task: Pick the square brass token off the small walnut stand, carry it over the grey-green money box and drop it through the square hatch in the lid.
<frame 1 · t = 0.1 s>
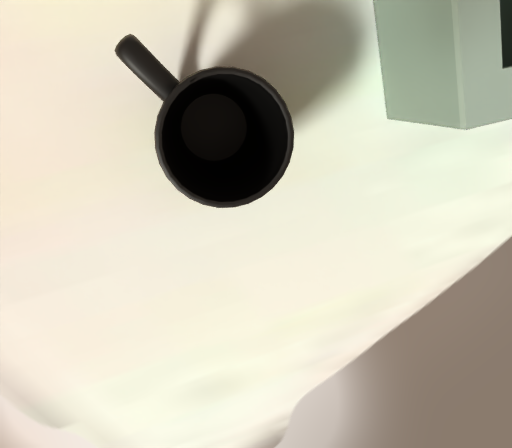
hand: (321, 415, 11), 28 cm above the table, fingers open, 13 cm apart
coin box: (448, 12, 37), on the table
mug: (196, 109, 36), on the table
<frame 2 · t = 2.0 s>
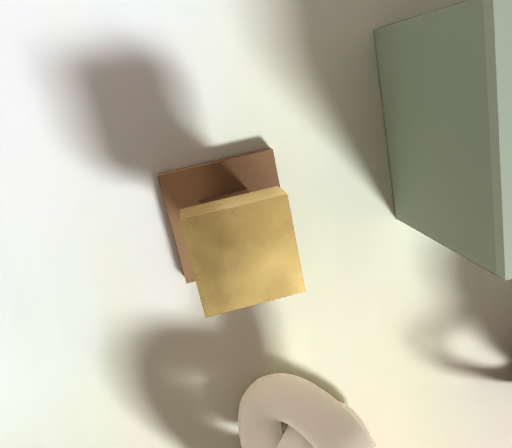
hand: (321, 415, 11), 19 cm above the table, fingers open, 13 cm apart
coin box: (486, 106, 30), on the table
token stand: (227, 214, 29), on the table
white knot sculpture: (286, 413, 35), on the table
token: (239, 244, 24), point 6 cm above the table, touching token stand
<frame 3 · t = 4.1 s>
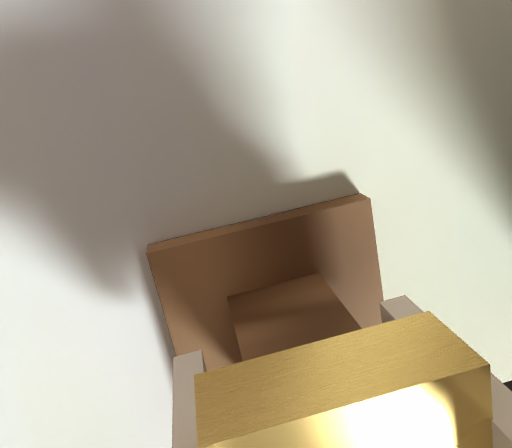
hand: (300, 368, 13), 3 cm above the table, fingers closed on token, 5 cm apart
token stand: (276, 314, 16), on the table
token: (332, 439, 10), point 6 cm above the table, touching gripper, token stand
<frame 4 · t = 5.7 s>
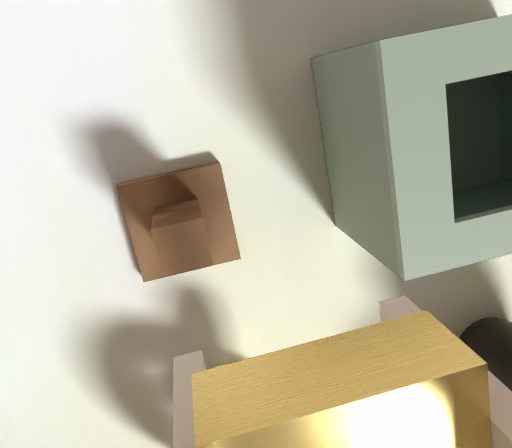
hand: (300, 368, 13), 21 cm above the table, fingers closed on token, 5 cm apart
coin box: (415, 126, 34), on the table
token stand: (180, 221, 33), on the table
mug: (467, 359, 41), on the table
token: (330, 439, 10), point 24 cm above the table, touching gripper
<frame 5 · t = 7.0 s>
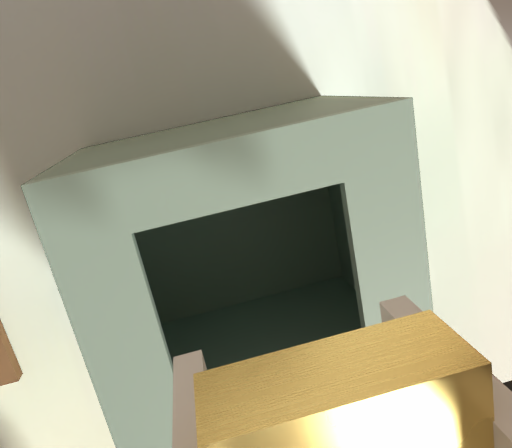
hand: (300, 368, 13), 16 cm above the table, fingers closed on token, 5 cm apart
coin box: (227, 219, 28), on the table
token: (332, 439, 10), point 19 cm above the table, touching gripper
when the fingers open (12 cm above the table, at t = 7.7 s): token drops 14 cm, resting on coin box.
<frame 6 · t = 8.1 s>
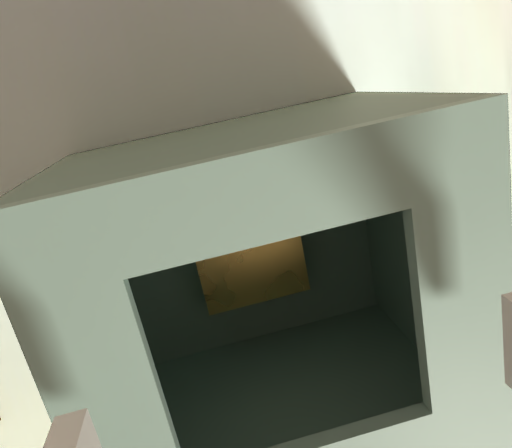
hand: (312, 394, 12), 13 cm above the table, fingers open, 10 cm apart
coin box: (243, 239, 24), on the table
token: (244, 241, 24), resting on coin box
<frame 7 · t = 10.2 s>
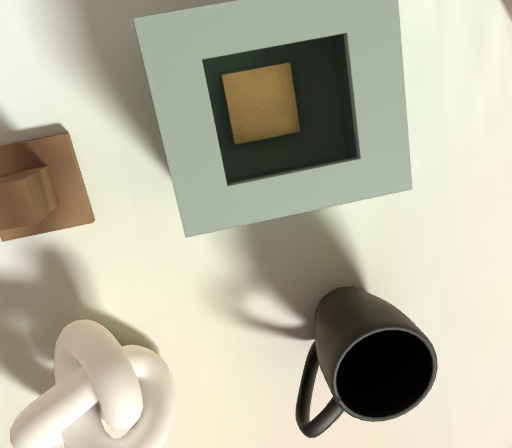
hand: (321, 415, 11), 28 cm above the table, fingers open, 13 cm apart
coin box: (257, 103, 36), on the table
token stand: (36, 186, 36), on the table
mug: (328, 326, 43), on the table
white knot sculpture: (106, 357, 41), on the table
token: (258, 103, 36), resting on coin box
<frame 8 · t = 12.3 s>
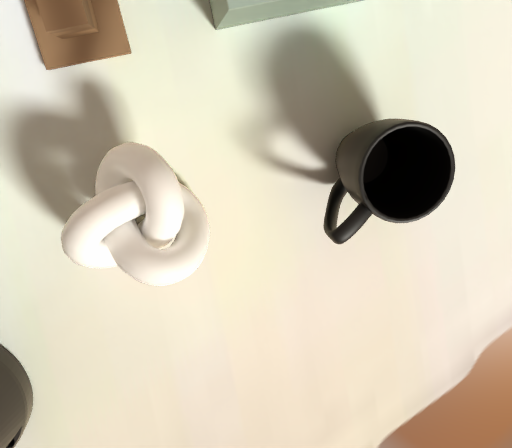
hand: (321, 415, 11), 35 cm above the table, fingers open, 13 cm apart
token stand: (77, 17, 39), on the table
mug: (347, 170, 46), on the table
white knot sculpture: (142, 197, 44), on the table
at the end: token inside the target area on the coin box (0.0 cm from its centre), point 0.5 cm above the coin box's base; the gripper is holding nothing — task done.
